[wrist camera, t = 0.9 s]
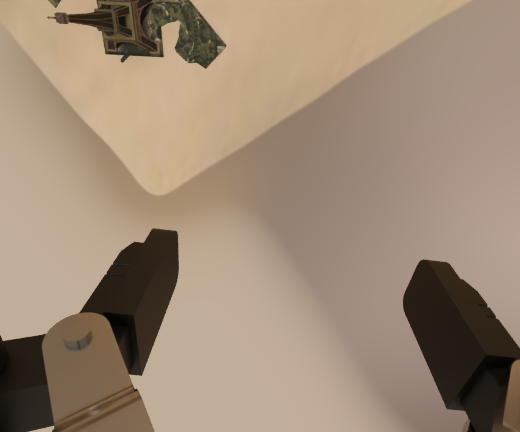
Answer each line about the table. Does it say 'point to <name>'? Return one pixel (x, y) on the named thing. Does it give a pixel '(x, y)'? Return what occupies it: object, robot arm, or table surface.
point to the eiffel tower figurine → (149, 28)
